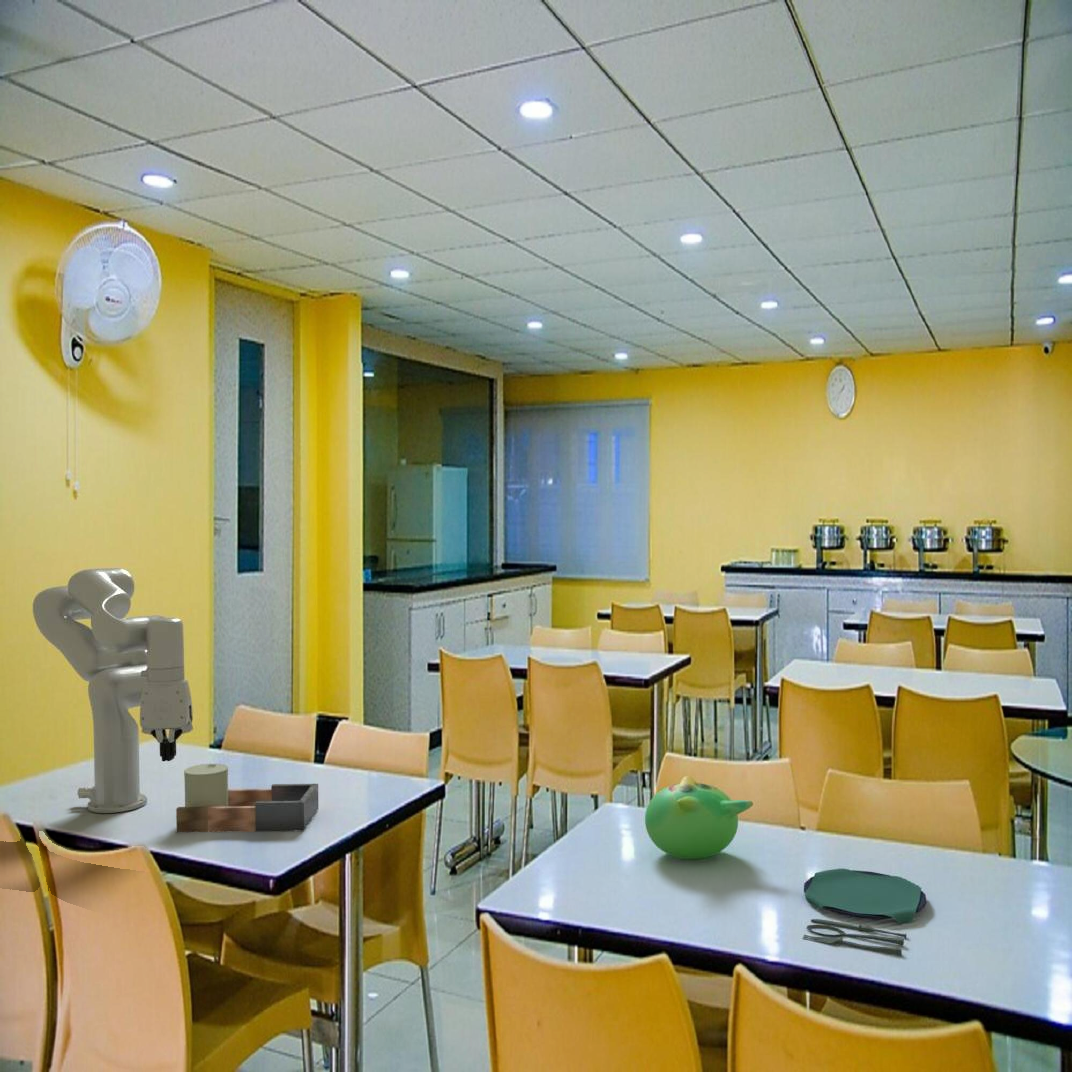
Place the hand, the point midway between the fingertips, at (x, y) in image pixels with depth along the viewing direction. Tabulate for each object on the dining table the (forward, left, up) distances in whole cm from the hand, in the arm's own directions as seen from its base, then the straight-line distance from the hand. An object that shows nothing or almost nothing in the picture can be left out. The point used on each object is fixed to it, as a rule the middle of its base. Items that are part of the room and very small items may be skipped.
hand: (168, 759), depth 209 cm
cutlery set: (+132, -52, -14) cm, 143 cm away
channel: (+12, 0, -14) cm, 18 cm away
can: (+8, 0, -14) cm, 16 cm away
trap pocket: (+26, 0, -14) cm, 29 cm away
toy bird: (+110, -25, -14) cm, 113 cm away
